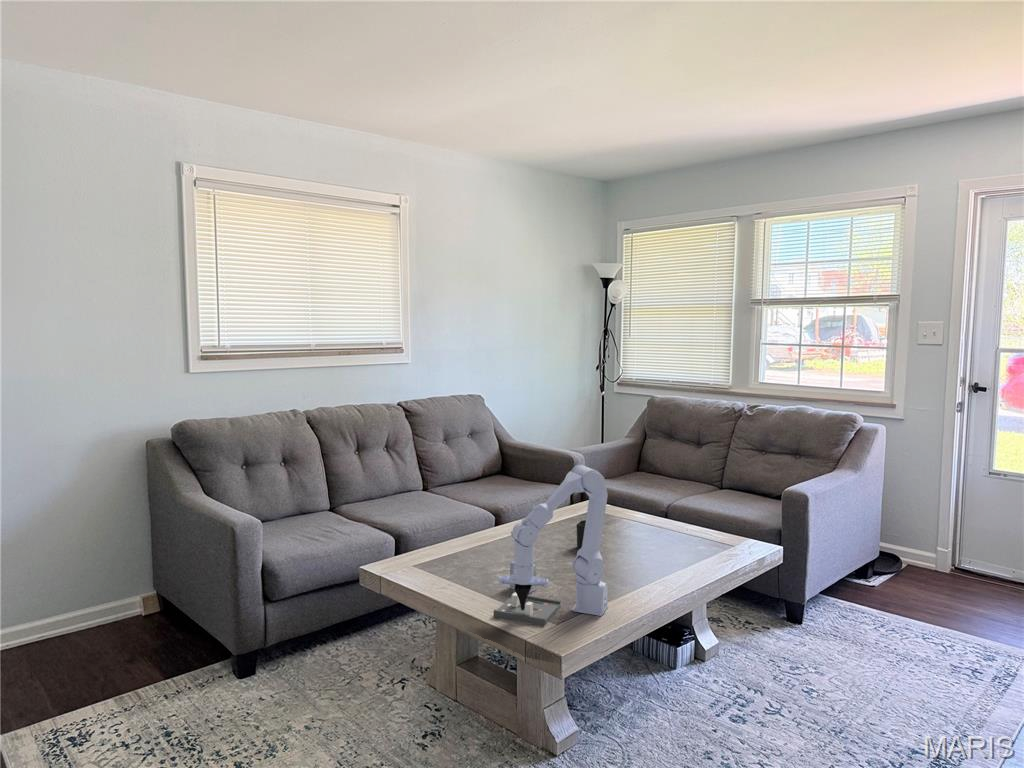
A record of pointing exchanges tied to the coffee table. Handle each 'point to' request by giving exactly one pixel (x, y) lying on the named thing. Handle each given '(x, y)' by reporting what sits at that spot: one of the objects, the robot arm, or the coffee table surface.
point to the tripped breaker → (529, 608)
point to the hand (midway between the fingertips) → (523, 608)
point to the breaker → (515, 600)
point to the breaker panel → (541, 610)
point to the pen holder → (580, 533)
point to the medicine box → (513, 574)
